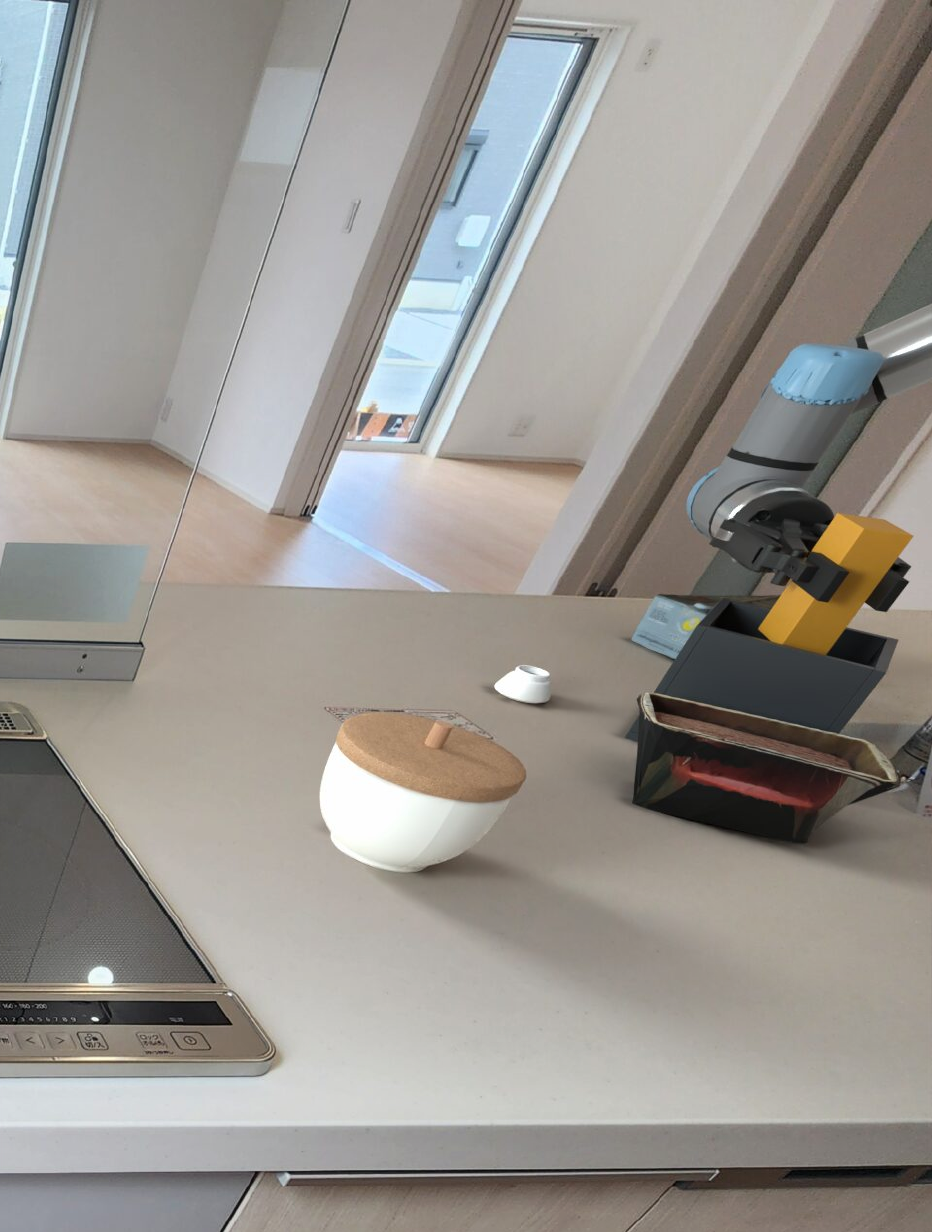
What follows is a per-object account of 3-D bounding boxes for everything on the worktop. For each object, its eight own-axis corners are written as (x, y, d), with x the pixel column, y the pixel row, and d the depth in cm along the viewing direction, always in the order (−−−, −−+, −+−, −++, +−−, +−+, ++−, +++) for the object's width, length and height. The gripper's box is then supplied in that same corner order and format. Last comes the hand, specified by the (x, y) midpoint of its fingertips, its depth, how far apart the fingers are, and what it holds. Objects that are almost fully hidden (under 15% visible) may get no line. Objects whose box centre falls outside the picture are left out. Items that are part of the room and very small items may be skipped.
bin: (812, 751, 107) (899, 639, 100) (794, 791, 100) (886, 672, 93) (652, 704, 115) (722, 597, 108) (624, 738, 107) (697, 624, 100)
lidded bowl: (431, 821, 90) (498, 701, 84) (493, 903, 80) (575, 774, 74) (277, 800, 92) (331, 680, 85) (319, 878, 82) (384, 749, 75)
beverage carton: (623, 639, 132) (655, 586, 128) (757, 642, 134) (792, 590, 131) (678, 664, 126) (713, 609, 122) (817, 666, 128) (856, 613, 124)
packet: (801, 636, 103) (885, 519, 96) (824, 657, 98) (914, 535, 92) (757, 629, 104) (837, 512, 97) (778, 649, 99) (864, 528, 93)
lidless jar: (482, 689, 116) (524, 708, 112) (496, 663, 114) (539, 682, 110) (514, 685, 117) (557, 704, 113) (528, 659, 115) (572, 678, 112)
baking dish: (607, 766, 106) (646, 671, 101) (856, 807, 96) (916, 703, 90) (586, 828, 98) (628, 727, 92) (857, 880, 87) (923, 770, 82)
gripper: (843, 579, 110) (948, 652, 93) (655, 549, 115) (722, 613, 98) (897, 503, 106) (1018, 566, 88) (699, 476, 111) (777, 530, 93)
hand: (862, 591), depth 93 cm, fingers closed on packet, 3 cm apart
